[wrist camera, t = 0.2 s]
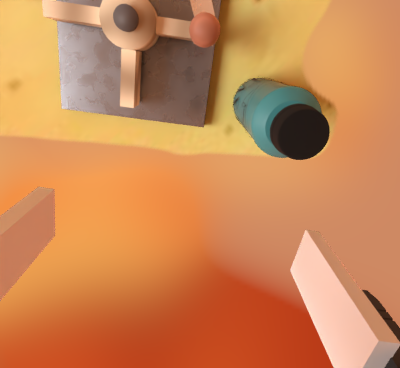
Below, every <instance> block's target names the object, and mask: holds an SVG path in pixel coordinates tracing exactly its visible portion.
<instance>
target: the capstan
mask: <svg viewBox="0 0 400 368" xmlns="http://www.w3.org/2000/svg"><path fill="white" fill-rule="evenodd" d="M42 4H43V16H44V17H47V18H50V19H53V20H56V21H60V22H67V23H74V24H80V25H87V26H94V27H101V28H102V30H103V32H104V33H105V35H106V36H107V38H108V39H109V40H110V41H111V42H112V43H113V44H115V45H116V46H118V47H121V48H124V49H121V84H120V106H122V107H129V108H134V107H136V106H138V105H139V102H140V82H141V61H142V52H140V51H145V50H148V49H150V48H151V47H152V46H153V45H154V44H155V43H156V42H157V40H158V38H159V36H161V37H168V38H175V39H182V40H188V41H193V42H194V43H195V44H196V45H197V46H199V47H203V48H207V47H210V46H212V45H213V44H215V43H216V41H217V40H218V38H219V35H220V24H219V22H218V20H217V18H216V17H215V16H214V15H212V14H210V13H207V12H203V13H199V14H197V15H196V16H195V17H194V18H193V19H192V21H186V20H179V19H172V18H166V17H159V16H158V13H157V12H156V10H155V8H154V7H153V6H152V4H151V3H150V2H149V1H148V0H103V1H102V3H101V6H100V7H94V6H87V5H81V4H74V3H67V2H61V1H54V0H42Z"/></svg>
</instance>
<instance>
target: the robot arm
mask: <svg viewBox="0 0 400 368" xmlns="http://www.w3.org/2000/svg"><path fill="white" fill-rule="evenodd" d="M54 236H55V199H54V189H50V188H44V187H38V188H36V189H35V190H34V191H32V192H31V193H30V194H28V195H27V196H26V197H24V198H23V199H22V200H21V201H19V202H18V203H17V204H15V205H14V206H13V207H11V208H10V209H9V210H7V211H6V212H5V213H4V214H2V215H1V216H0V301H1V299H2V298H3V297H4V296H5V295H6V293H7V292H8V291H9V290H10V289H11V287H12V286H13V285H14V284H15V283H16V282H17V280H18V279H19V278H20V277H21V276H22V274H23V273H24V272H25V271H26V270H27V268H28V267H29V266H30V265H31V264H32V262H33V261H34V260H35V259H36V258H37V256H38V255H39V254H40V253H41V252H42V250H43V249H44V248H45V247H46V246H47V244H48V243H49V242H50V241H51V240H52V238H53V237H54ZM290 271H291V273H292V276H293V278H294V280H295V282H296V284H297V287H298V289H299V291H300V293H301V295H302V298H303V300H304V302H305V305H306V307H307V309H308V311H309V313H310V316H311V318H312V320H313V323H314V325H315V327H316V329H317V331H318V333H319V336H320V338H321V340H322V342H323V345H324V347H325V349H326V351H327V353H328V356H329V358H330V360H331V363H332V365H333V367H334V368H400V328H399V327H398V325H397V324H396V323H395V322H394V321H393V320H392V317H391V316H390V315H389V314H388V312H386V310H385V308H384V307H383V306H382V304H381V303H380V302H379V301H378V300H377V299H376V298H375V297H374V296H373V295H371V294H370V293H369V292H368V291H366V290H361V288H360V287H359V285H358V284H357V283H356V281H355V280H354V279H353V277H352V276H351V275H350V273H349V272H348V270H347V269H346V268H345V266H344V265H343V264H342V262H341V261H340V259H339V258H338V257H337V256H336V254H335V252H334V251H333V250H332V248H331V247H330V246H329V244H328V243H327V242H326V240H325V239H324V237H323V236H322V235H321V233H320V232H317V231H311V230H305V233H304V236H303V239H302V241H301V244H300V246H299V249H298V251H297V254H296V257H295V259H294V262H293V264H292V267H291V270H290Z"/></svg>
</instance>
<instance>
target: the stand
mask: <svg viewBox="0 0 400 368" xmlns="http://www.w3.org/2000/svg"><path fill="white" fill-rule="evenodd" d="M56 1H61V2H67V3H74V4H81V5H87V6H94V7H100V6H101V3H102V1H103V0H56ZM148 1H149V2H150V3H151V4H152V6H153V7H154V8H155V10H156V12H157V13H158V16H159V17H166V18H172V19H179V20H186V21H192V19H193V18H194V17H195V16H196V15H197V14H199V13H203V12H207V13H210V14H212V15H214V16H215V17H216V18H217V20H218V19H219V11H220V4H221V0H148ZM57 28H58V47H59V66H60V85H61V104H62V109H69V110H76V111H84V112H92V113H99V114H107V115H114V116H122V117H130V118H137V119H145V120H153V121H160V122H168V123H175V124H183V125H191V126H198V127H204V120H205V113H206V106H207V99H208V91H209V84H210V77H211V70H212V62H213V55H214V48H215V44H213V45H212V46H210V47H207V48H203V47H199V46H197V45H196V44H195V43H194V42H193V41H188V40H182V39H175V38H168V37H161V36H159V38H158V40H157V42H156V43H155V44H154V45H153V46H152V47H151V48H150V49H148V50H145V51H140V52H142V61H141V82H140V102H139V105H138V106H136V107H134V108H129V107H122V106H120V84H121V49H124V48H121V47H118V46H116V45H115V44H113V43H112V42H111V41H110V40H109V39H108V38H107V36H106V35H105V33H104V32H103V30H102V28H101V27H94V26H87V25H80V24H74V23H67V22H60V21H57Z"/></svg>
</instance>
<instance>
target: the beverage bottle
mask: <svg viewBox="0 0 400 368" xmlns="http://www.w3.org/2000/svg"><path fill="white" fill-rule="evenodd" d="M268 79H269V78H268ZM268 79H267V78H256V79H255V78H253V79H251V80H250V79H248V80H249V81H247V82H244V83H242V84H243V85H242V84H241V85H242V86H241V87H240V88H239V89H238V91H237V93H236V95H235V98H234V100H233V101H234V104H233V108H234V110H233V111H235V114H236V116H237V117H236V118H238V119H239V120H238V119H237V120H238V121H240V122H241V123H242V125H243V126H244V128H246V130H247V131H248V132H247V133H249V134H250V135H251V138H253V139H254V141H255V143H256V144H257V146H258V147H259V148H260V149H261V150H262V151H264V152H265V153H267V154H269V155H271V156H274V157H279V158H286V157H289V158H291V159H295V160H304V159H308V158H311V157H313V156H315V155H317V154H318V153H319V152H320V151H321V150H322V149H323V148H324V147H325V145H326V143H327V141H328V138H329V124H328V122H327V119H326V118H325V117H324V115H323V114H322V111H321V107H320V105H319V102H318V101H317V99H316V98H315V97H314V95H312V94H311V93H310V92H309V91H307V90H305V89H303V88H300V87H296V86H289V85H285V84H282V82H281V83H279V82H278V80H277V82H275V81H273V79H272V80H268ZM240 122H239V123H240ZM241 123H240V124H241ZM249 137H250V136H249Z"/></svg>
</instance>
